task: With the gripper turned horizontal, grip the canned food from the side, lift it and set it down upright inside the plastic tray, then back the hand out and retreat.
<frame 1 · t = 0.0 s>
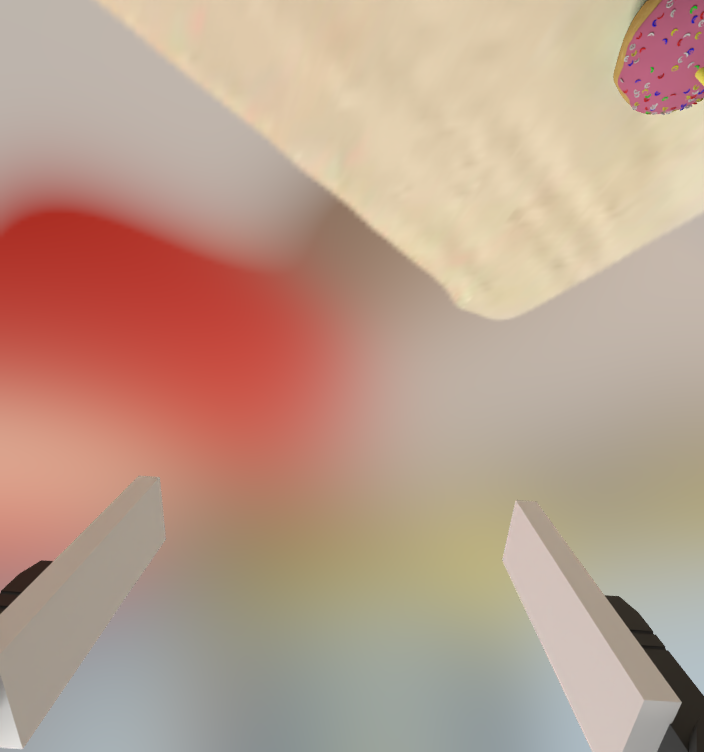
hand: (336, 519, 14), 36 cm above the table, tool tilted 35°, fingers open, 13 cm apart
cupcake: (658, 26, 29), on the table
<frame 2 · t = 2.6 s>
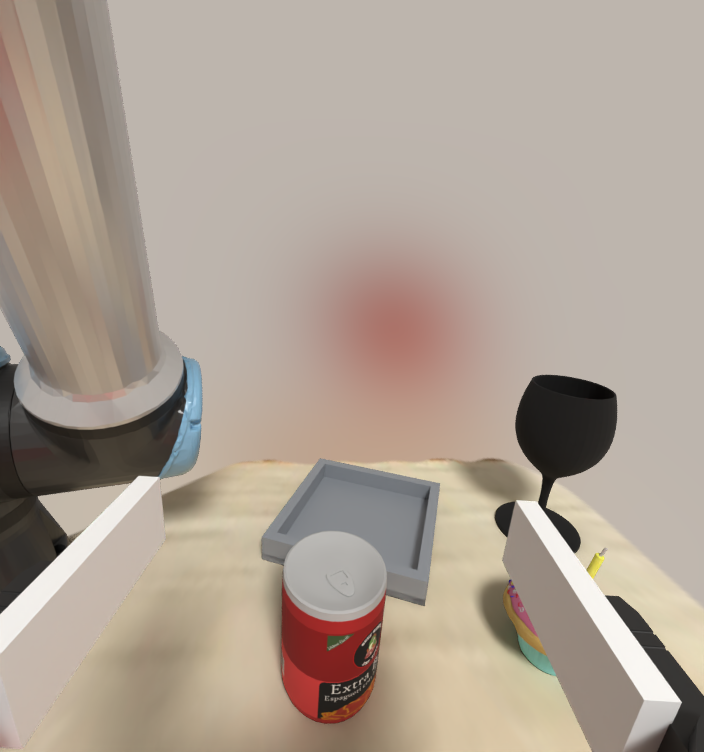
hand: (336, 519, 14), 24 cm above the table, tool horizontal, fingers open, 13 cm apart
wine glass: (535, 529, 51), on the table
cupcake: (544, 652, 35), on the table
tray: (360, 526, 49), on the table
canned food: (328, 673, 32), on the table
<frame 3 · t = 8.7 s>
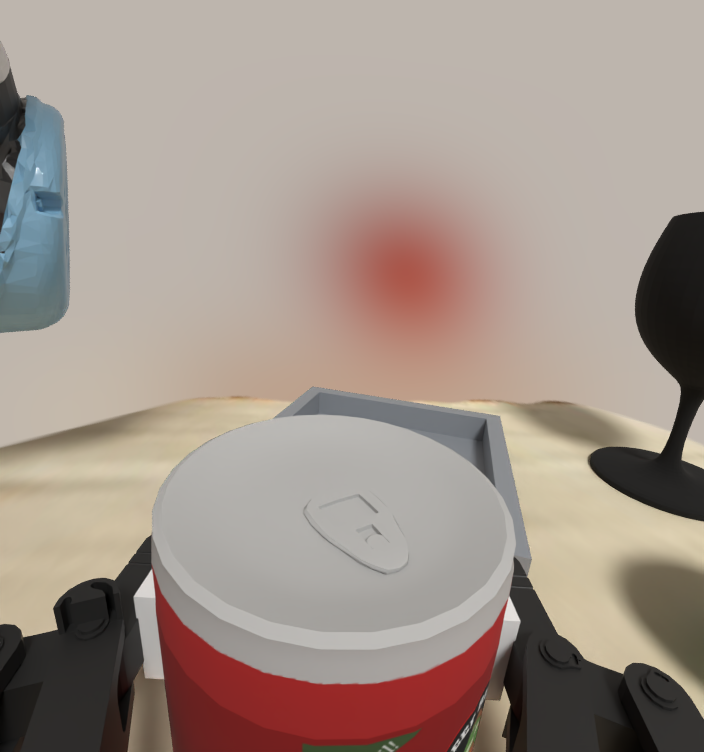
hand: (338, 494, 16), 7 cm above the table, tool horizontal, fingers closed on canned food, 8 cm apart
wine glass: (661, 483, 31), on the table
tray: (378, 476, 29), on the table
when the fingers open (9 cm above the table, at t = 14.5 s): canned food drops 1 cm, resting on tray.
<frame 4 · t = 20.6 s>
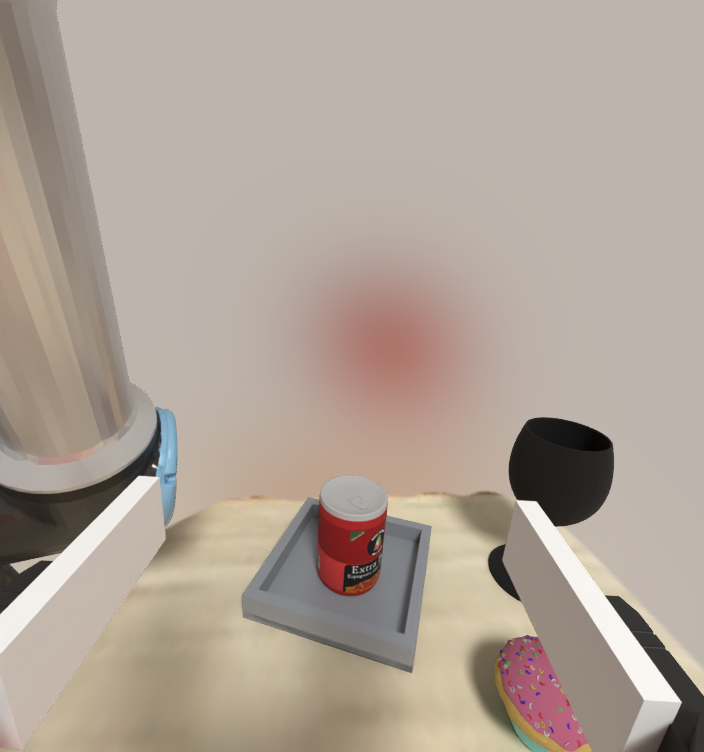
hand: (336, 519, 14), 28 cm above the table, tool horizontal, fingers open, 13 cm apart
wine glass: (530, 576, 49), on the table
cupcake: (538, 728, 33), on the table
tray: (348, 575, 47), on the table
canned food: (347, 572, 47), point 1 cm above the table, touching tray
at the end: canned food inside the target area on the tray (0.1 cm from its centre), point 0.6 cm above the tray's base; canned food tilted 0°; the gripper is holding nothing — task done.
